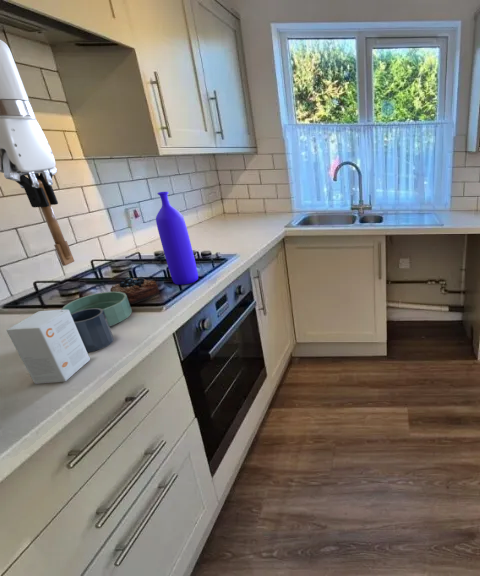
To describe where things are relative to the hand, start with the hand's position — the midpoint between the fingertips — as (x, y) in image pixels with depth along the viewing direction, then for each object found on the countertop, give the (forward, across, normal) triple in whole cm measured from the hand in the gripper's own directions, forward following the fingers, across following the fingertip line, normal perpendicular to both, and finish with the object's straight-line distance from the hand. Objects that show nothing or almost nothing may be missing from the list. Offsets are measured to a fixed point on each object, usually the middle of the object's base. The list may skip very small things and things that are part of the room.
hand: (45, 205), depth 78 cm
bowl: (+33, -9, -4) cm, 35 cm away
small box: (+33, +15, +2) cm, 36 cm away
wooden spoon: (+13, 0, 0) cm, 13 cm away
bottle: (+33, -36, +7) cm, 50 cm away
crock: (+33, +4, +2) cm, 33 cm away
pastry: (+33, -25, -4) cm, 42 cm away
